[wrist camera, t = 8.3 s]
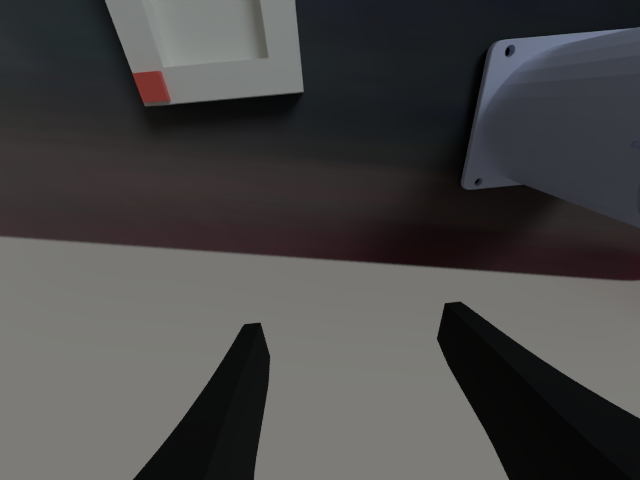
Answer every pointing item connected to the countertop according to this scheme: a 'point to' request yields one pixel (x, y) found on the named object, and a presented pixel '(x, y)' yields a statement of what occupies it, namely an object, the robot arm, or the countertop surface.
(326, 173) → the countertop surface
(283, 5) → the white square recessed tray
